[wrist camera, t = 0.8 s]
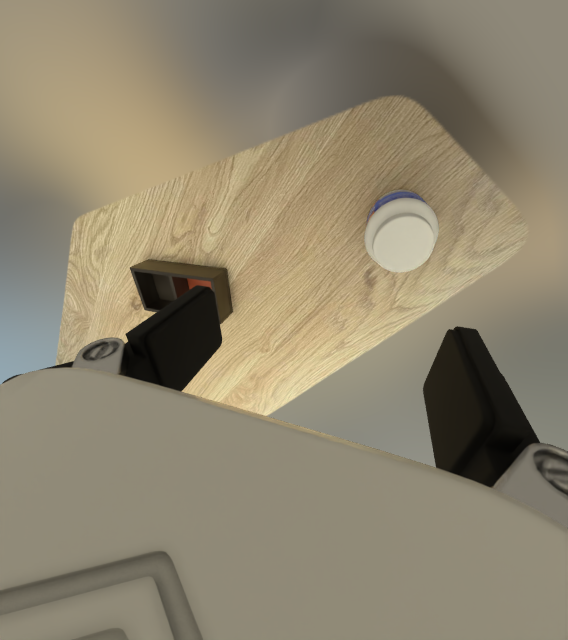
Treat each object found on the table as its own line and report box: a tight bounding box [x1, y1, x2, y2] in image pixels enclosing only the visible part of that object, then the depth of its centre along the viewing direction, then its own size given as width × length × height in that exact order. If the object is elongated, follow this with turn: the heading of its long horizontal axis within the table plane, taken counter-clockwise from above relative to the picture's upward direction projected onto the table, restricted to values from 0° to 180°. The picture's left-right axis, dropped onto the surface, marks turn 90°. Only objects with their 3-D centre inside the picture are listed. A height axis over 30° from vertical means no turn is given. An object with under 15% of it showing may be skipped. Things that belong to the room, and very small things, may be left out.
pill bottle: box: [364, 190, 439, 272], centre depth 22 cm, size 5×5×10 cm
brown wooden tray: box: [130, 259, 233, 324], centre depth 37 cm, size 7×14×4 cm, turn 91°
